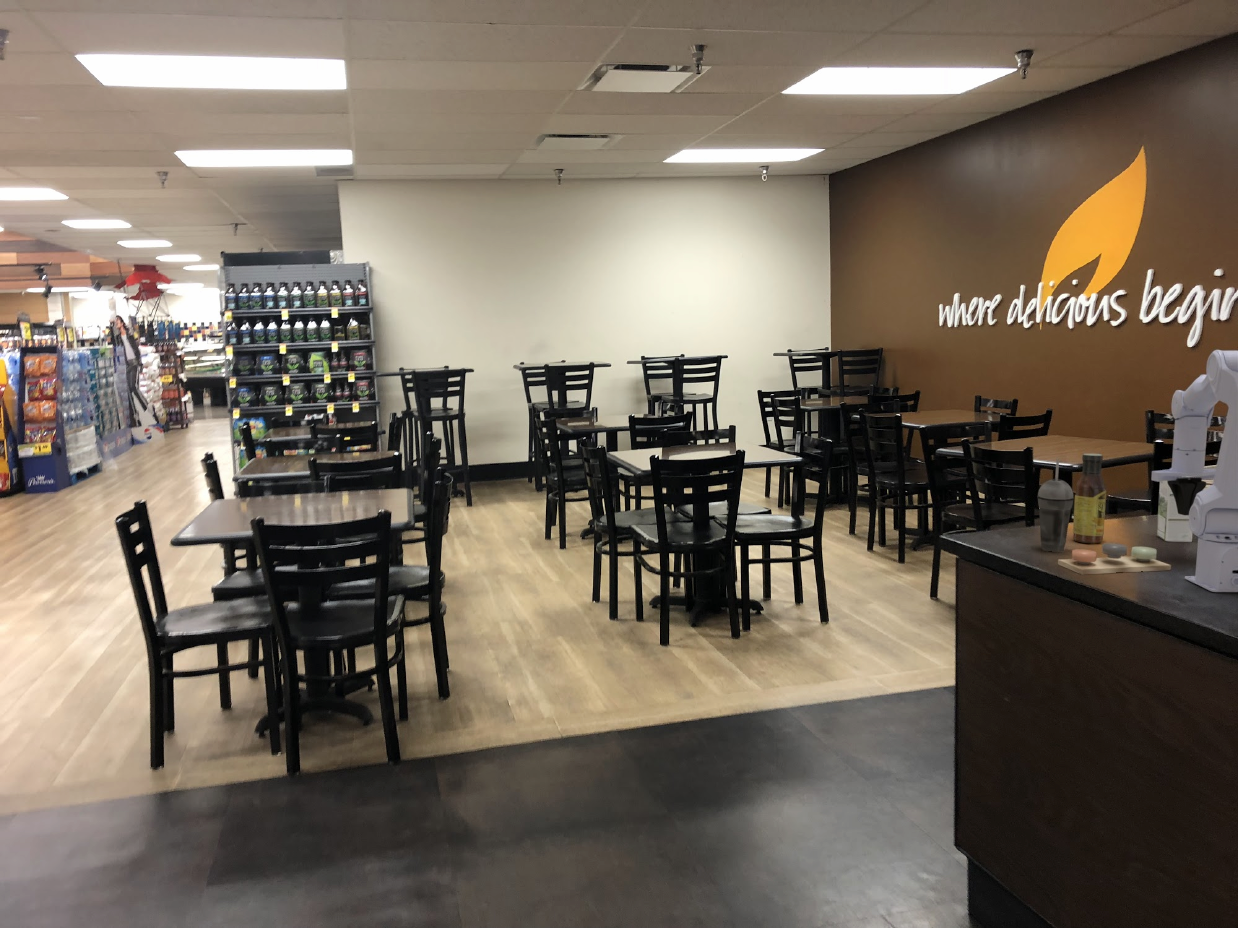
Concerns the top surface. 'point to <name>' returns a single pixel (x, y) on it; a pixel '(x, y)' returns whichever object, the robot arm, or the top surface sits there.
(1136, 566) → the button board
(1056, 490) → the beverage cup
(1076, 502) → the sauce bottle
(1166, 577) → the top surface
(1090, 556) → the terracotta button
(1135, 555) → the sage button
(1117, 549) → the charcoal button
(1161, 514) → the syrup box
